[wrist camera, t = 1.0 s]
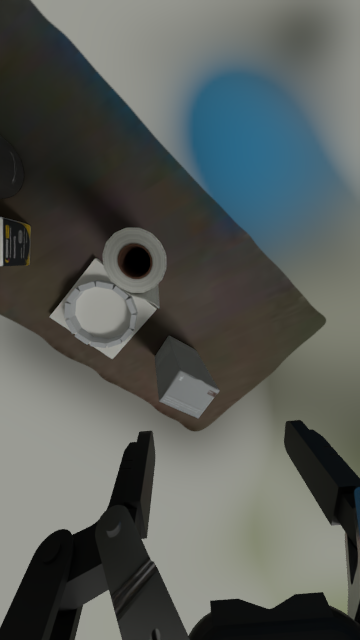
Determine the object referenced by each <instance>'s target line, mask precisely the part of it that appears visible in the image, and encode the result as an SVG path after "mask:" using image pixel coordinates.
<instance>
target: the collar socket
mask: <svg viewBox="0 0 360 640" xmlns="http://www.w3.org/2000/svg"><path fill="white" fill-rule="evenodd" d="M156 310H157V307H155V306H154V305H153V304H152V303H151V302H149V301H147V300H144V299H140V298H137V297H133V296H130V295H129V294H128V293H126V292H125V291H123V290H122V289H121V288H119V287H118V286H117V285H116V284H114V283H113V282H112V281H111V280H110V279H109V277H108V275H107V273H106V271H105V269H104V265H103V263H102V262H101V261H100V260H99V259H98V258H95V259H94V260H93V262H92V263H91V264H90V266H89V267H88V268H87V269H86V271H85V272H84V273H83V275H82V276H81V277H80V278H79V280H78V281H77V282H76V283H75V285H74V286H73V287H72V289H71V290H70V291H69V292H68V294H67V295H66V296H65V298H64V299H63V300H62V301H61V303H60V304H59V305H58V307H57V308H56V309H55V310H54V312H53V313H52V314H51V315H50V318H52V319H53V320H55V321H56V322H58V323H59V324H61V325H62V326H64V327H65V328H67V329H68V330H70V331H71V333H72V334H76V335H75V337H76V338H78V339H79V340H81V341H82V342H84V343H85V344H87V345H88V344H90V346H93V347H95V348H96V349H98V350H99V351H101V352H102V353H104V354H105V355H107V356H108V357H110V358H111V359H113V358H114V357H115V356H116V355H117V353H118V352H119V351H120V350H121V349H122V348H123V347H124V346H125V344H126V343H127V342H128V341H129V340H130V339H131V338H132V337H133V335H134V334H135V333H136V332H137V331H138V330H139V329H140V328H141V326H142V325H143V324H144V323H145V322H146V321H147V320H148V319H149V317H150V316H151V315H152V314H153V313H154V312H155V311H156Z"/></svg>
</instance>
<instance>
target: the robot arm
mask: <svg viewBox="0 0 360 640" xmlns="http://www.w3.org/2000/svg"><path fill="white" fill-rule="evenodd" d="M23 179H24V171H23V166H22V162H21V160H20V158H19V155H18V154H17V152H16V151H15V149H14V148H13V147H12V146H11V145H10V144H9V143H8V141H6V140H5V139H4V138H3V137H1V136H0V198H2V199H3V198H9V197H11V196H13V195H15V194H16V193H17V192H18V191H19V190H20V188H21V186H22V183H23ZM284 444H285V448H286V451H287V453H288V455H289V457H290V458H291V460H292V462H293V463H294V465H295V466H296V468H297V470H298V471H299V473H300V475H301V476H302V478H303V480H304V481H305V483H306V485H307V486H308V488H309V490H310V491H311V493H312V495H313V496H314V498H315V499H316V501H317V503H318V504H319V506H320V508H321V509H322V511H323V513H324V514H325V516H326V518H327V519H328V521H329V522H330V524H331V525H341V526H342V527H343V529H344V530H345V547H346V561H347V574H348V615H346V614H345V613H343V612H342V611H340V610H338V609H336V608H334V607H332V606H329V605H328V602H327V600H326V598H325V596H324V594H323V592H321V593H308V594H296V595H294V596H292V597H290V598H289V599H287V600H285V601H284V602H282V603H281V604H279V605H278V606H276V607H275V608H272V609H266V608H263V607H261V606H258V605H255V604H252V603H248V602H246V601H243V600H240V599H228V600H215V601H210V603H211V612H210V613H209V614H207V615H206V616H204V617H203V618H202V619H201V620H200V621H199V622H198V623H197V624H196V625H195V627H194V628H193V629H192V631H191V633H190V634H189V636H188V634H187V632H186V630H185V628H184V626H183V623H182V621H181V619H180V617H179V615H178V612H177V610H176V608H175V606H174V604H173V602H172V599H171V597H170V595H169V593H168V591H167V588H166V586H165V584H164V582H163V580H162V577H161V575H160V573H159V571H158V569H157V567H156V565H155V563H154V562H152V561H151V560H150V557H149V555H148V553H147V551H146V549H145V546H144V544H143V542H142V540H141V539H144V538H147V530H148V522H149V513H150V503H151V494H152V485H153V476H154V466H155V447H154V440H153V432H152V431H143V432H139V435H138V439H137V442H132V443H130V444H129V445H128V446H127V448H126V449H125V451H124V454H123V457H122V462H121V464H120V468H119V471H118V475H117V478H116V482H115V485H114V489H113V492H112V496H111V499H110V503H109V506H108V508H107V510H106V511H105V512H104V513H103V515H102V516H101V517H100V519H99V520H98V521H97V522H96V523H95V524H93V525H92V526H90V527H88V528H86V529H84V530H82V531H80V532H77V533H76V534H73V535H72V534H71V532H70V531H68V530H65V529H62V530H58V531H55V532H54V533H52V534H51V535H49V536H48V537H47V538H46V539H45V540H44V541H43V542H42V543H41V544H40V546H39V547H38V549H37V550H36V552H35V554H34V556H33V558H32V560H31V562H30V564H29V566H28V569H27V571H26V573H25V575H24V577H23V579H22V582H21V584H20V586H19V588H18V590H17V593H16V595H15V597H14V599H13V601H12V603H11V606H10V608H9V610H8V612H7V615H6V616H5V619H4V621H3V623H2V625H1V627H0V640H75V636H76V632H77V628H78V623H79V619H80V615H81V611H82V607H83V604H85V603H87V602H88V601H90V600H92V599H93V598H95V597H97V596H98V595H100V594H102V593H103V592H105V591H107V590H109V591H110V595H111V599H112V602H113V606H114V610H115V614H116V618H117V621H118V625H119V629H120V633H121V637H122V640H360V478H359V477H358V476H357V475H356V474H355V472H354V471H353V470H352V469H351V468H350V467H349V466H348V465H347V463H346V462H345V461H344V460H343V459H342V458H341V457H340V456H339V455H338V454H337V452H336V451H335V450H334V449H333V448H332V447H331V446H330V444H329V443H328V442H327V441H326V440H325V438H324V437H323V436H321V435H320V434H318V433H317V432H315V431H314V430H309V429H308V428H307V427H306V425H305V424H304V423H303V422H302V421H301V420H297V421H296V420H295V421H287V422H286V426H285V438H284Z"/></svg>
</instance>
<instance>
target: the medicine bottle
mask: <svg viewBox="0 0 360 640" xmlns="http://www.w3.org/2000/svg"><path fill="white" fill-rule="evenodd" d="M30 233H31V226H30V225H29V224H25V223H22V222H18V221H14V220H11V219H7V218H3V217H0V266H16V265H29V264H30Z"/></svg>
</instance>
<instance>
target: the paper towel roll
mask: <svg viewBox="0 0 360 640" xmlns="http://www.w3.org/2000/svg"><path fill="white" fill-rule="evenodd" d="M143 253H148V255H149V257H150V267H149V268H144V267H142V266H141V265H140V263H139V258H140V256H141V255H142V254H143ZM102 256H103V265H104V269H105V271H106V273H107V275H108V277H109V279H110V280H111V281H112V282H113V283H114V284H116V285H117V286H118V287H119V288H121V289H122V290H123V291H125V292H126V293H128V294H129V295H130V296H133V297H137V298H140V299H144V300H147V301H149V302H151V303H153V304H154V305H156V306H157V307H158V308H160V307H159V291H158V283H159V282H160V281H161V280H162V279H163V276H164V273H165V271H166V254H165V251H164V249H163V246H162V244H161V242H160V241H159V240H158V239H157V238H156V237H155V236H154V235H153V234H152V233H150V232H148V231H146V230H143V229H141V228H124V229H122V230H120V231H117V232H115V233H114V234H113V235H112V236H111V237H110V239H109V240H108V241H107V242H106V245H105V248H104V251H103V255H102Z"/></svg>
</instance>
